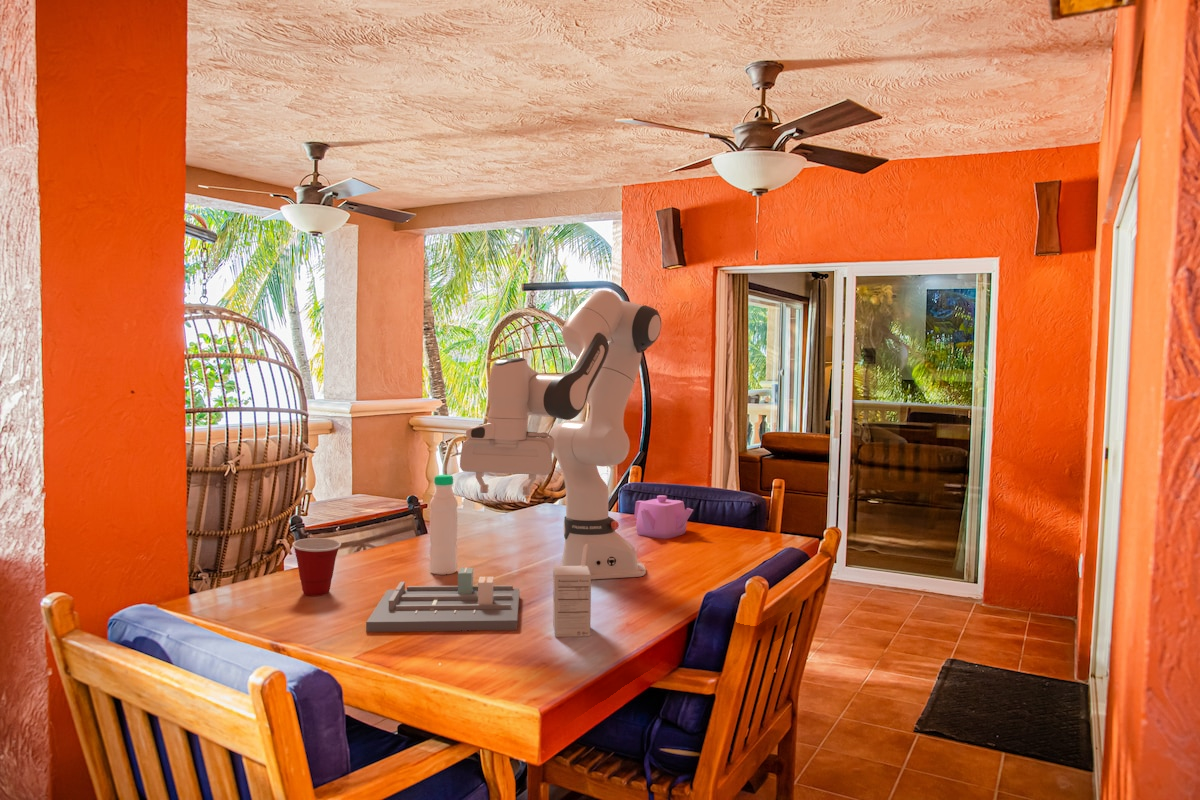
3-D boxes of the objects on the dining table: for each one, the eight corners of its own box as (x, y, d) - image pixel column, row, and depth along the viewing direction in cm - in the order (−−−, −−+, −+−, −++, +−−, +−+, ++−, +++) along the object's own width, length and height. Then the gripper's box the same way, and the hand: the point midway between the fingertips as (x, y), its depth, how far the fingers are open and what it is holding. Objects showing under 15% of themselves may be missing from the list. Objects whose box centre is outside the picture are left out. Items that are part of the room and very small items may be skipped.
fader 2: (493, 599, 184) (493, 575, 183) (492, 605, 179) (492, 581, 178) (479, 599, 183) (479, 575, 183) (477, 605, 178) (478, 581, 178)
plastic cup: (317, 602, 188) (317, 549, 187) (281, 595, 192) (281, 544, 192) (351, 590, 198) (351, 540, 197) (316, 584, 202) (316, 535, 202)
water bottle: (451, 576, 212) (451, 477, 211) (425, 574, 213) (425, 476, 212) (461, 569, 219) (461, 474, 218) (435, 567, 220) (436, 473, 219)
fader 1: (473, 589, 191) (473, 567, 191) (471, 595, 186) (471, 572, 186) (459, 589, 191) (459, 567, 191) (457, 595, 186) (457, 572, 186)
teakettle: (679, 528, 278) (680, 491, 278) (694, 538, 261) (695, 499, 261) (629, 529, 275) (630, 492, 275) (641, 540, 258) (641, 500, 258)
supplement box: (552, 625, 173) (553, 565, 172) (588, 625, 174) (589, 564, 173) (553, 637, 166) (554, 574, 165) (590, 637, 166) (591, 573, 166)
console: (519, 597, 194) (519, 580, 194) (516, 630, 170) (517, 610, 170) (387, 598, 191) (387, 581, 191) (366, 631, 167) (366, 612, 167)
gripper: (556, 432, 187) (554, 493, 187) (465, 428, 188) (463, 489, 188) (552, 433, 180) (550, 497, 181) (459, 430, 182) (457, 493, 182)
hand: (505, 493), depth 185 cm, fingers open, 8 cm apart
